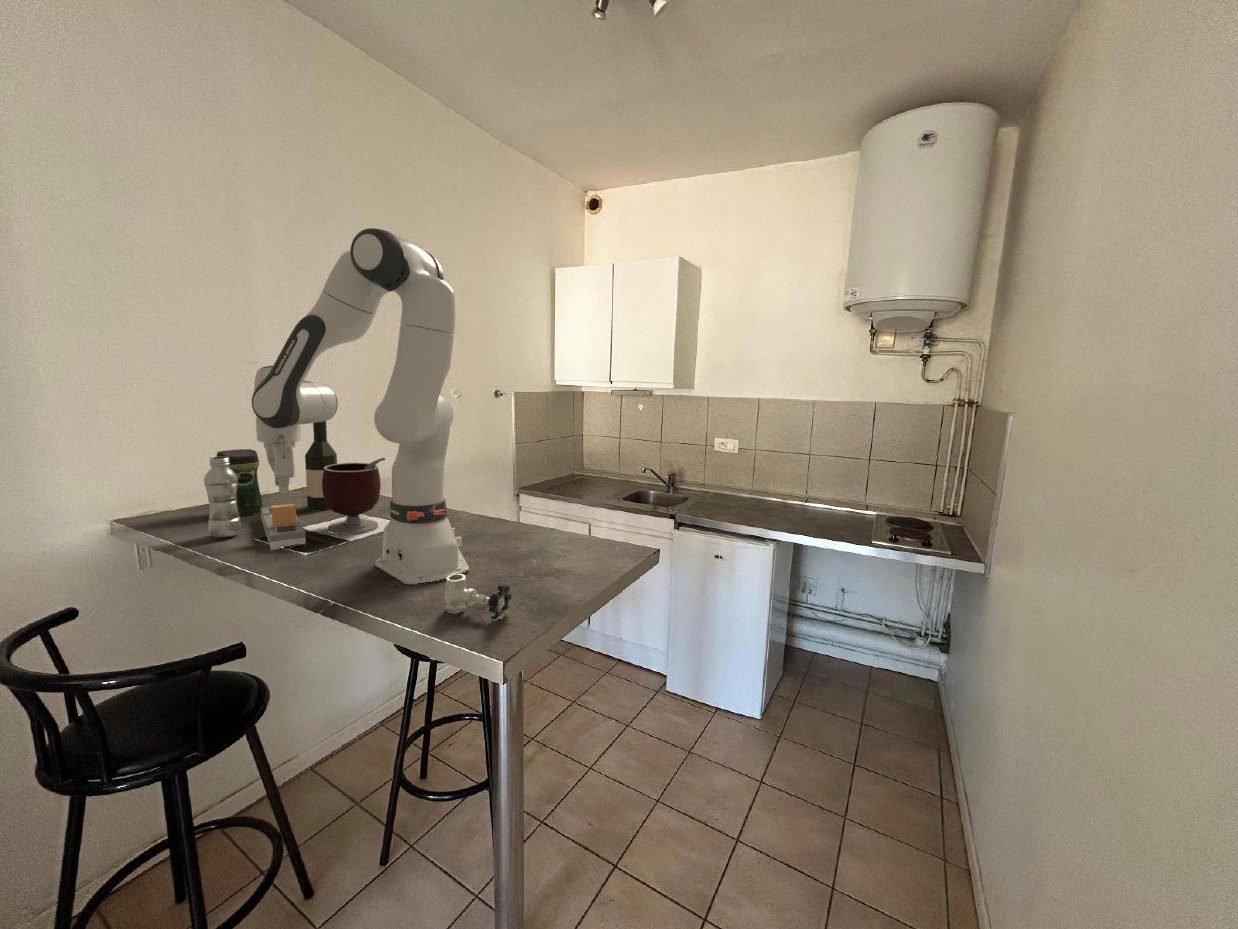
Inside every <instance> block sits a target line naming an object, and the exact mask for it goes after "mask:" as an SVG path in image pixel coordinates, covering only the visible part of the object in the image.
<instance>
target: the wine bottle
mask: <svg viewBox="0 0 1238 929" xmlns="http://www.w3.org/2000/svg"><path fill="white" fill-rule="evenodd" d="M312 425H313V428H312V430H313V442H312V443H311V445H310V447H309V449H308V450H307V451H306V453H305V454H304V458H305V459H304V462H305V481H306V502H307V503H306V504H307V510H310V511H312V510H313V512H327V511H332V510H331V509H330V508H329V507H328V506H327V505H326V503H325V500H324V496H323V491H322V478H323V472H324V467H325V466H328V465H333V464H338V454H337V452H336V451H335V449H333V447H332V446H331V444H330V443H329V441H328V435H327V434H328V432H327V420H326V421H323V422H317V423H312ZM326 510H327V511H326Z"/></svg>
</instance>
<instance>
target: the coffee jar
mask: <svg viewBox="0 0 1238 929" xmlns="http://www.w3.org/2000/svg"><path fill="white" fill-rule="evenodd" d="M220 456H225V457H229V462H230V465H229V468H231V469H232V470H233V471H234V473H235V474H236V475H237V478H238V482H237V498H236V500H237V508H238V513H239V517H241V516H248V515H253V514H258V513H261V508H264V506H263V499H262V495H261V494H262V493H261V491H260V486H259V485H260V484H259V480H258V469H259V467H260V460H259V457H258V452H257V451H256V450H254V449H251V448H250V449H249V448H245V449H243V448H240V449H239V448H238V449H227V450H221V451H217V453H216V457H220Z"/></svg>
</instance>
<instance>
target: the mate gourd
mask: <svg viewBox="0 0 1238 929" xmlns="http://www.w3.org/2000/svg"><path fill="white" fill-rule="evenodd" d="M382 461H386V458H385V457H381V458H378V459H376V460H373V461H372V462H370V463H368V462H342V463H337V464H333V465H328V466H325V467H324V472H323V478H322V491H323V496H324V500H325V503H326V505H327V506H328V507H329V508H330V509H331V510H330V511H332V512H334V513H337V514H339V515H342V516H343V515H344V516H346V519H345V520H341V521H336V522H334V523H331V524H329V525H328V526H327V532H328V531H330V532H333V533H338V534H355V535H361V534H360V533H362V534H366V533H365V532H367V533H370V532H369V531H371V532H373V531H375V530H377V529H378V528H379V523H378V522H377V521H375V520H371V519H363V518H360V516H359V515H363V514H364V513H367V512H369V511H371V510H373V509H374V507H375V506H376V505H377V503H378V502H379V499H380V496H381V494H380V493H381V487H382V486H381V475H380V470H379V466H378V465H377V464H379V463H380V462H382Z"/></svg>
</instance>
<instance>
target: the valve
mask: <svg viewBox="0 0 1238 929" xmlns="http://www.w3.org/2000/svg"><path fill="white" fill-rule="evenodd" d="M466 581H467V580H466V574H452V575H449V576H447V578H446V580H445V589H444V592H443V597H444V601H445V610H446V609H451V610H454V611H455V610H458V609H462V608H465V609H466V605H467V606H473V605H474V604H476V603H477V604H481V605H486V604H487V605H488V607H489V609H488V612H489V613H492V614H494V615H492V616H491V617H490V618H492V619H497V618H498V617H499V616H500V615H501V614H502V613H503V612H504V611H505V610H506V609H508V608H509V607H510V605H509V601H511V600H512V598H513V595H512V594H511V593H509V592H510V590H511V587H510V585H505V584H504V585H501V584H500V585H499V584H498V586H497V590H498V591H499V592H497V593H492V595H491V596H490V597H489V595H486V594H484V593H483V594H482V593H478V591H477V589H476V588H471V587H470V588H467V586H466ZM502 596H504V597H503V598H502ZM499 608H501V609H500V610H499ZM504 613H505V612H504Z"/></svg>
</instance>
